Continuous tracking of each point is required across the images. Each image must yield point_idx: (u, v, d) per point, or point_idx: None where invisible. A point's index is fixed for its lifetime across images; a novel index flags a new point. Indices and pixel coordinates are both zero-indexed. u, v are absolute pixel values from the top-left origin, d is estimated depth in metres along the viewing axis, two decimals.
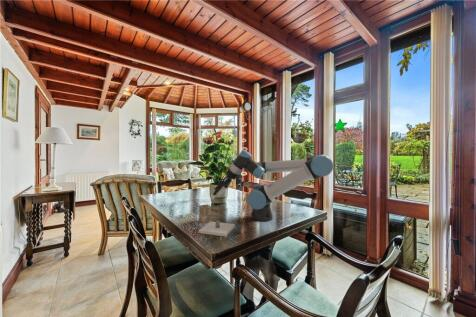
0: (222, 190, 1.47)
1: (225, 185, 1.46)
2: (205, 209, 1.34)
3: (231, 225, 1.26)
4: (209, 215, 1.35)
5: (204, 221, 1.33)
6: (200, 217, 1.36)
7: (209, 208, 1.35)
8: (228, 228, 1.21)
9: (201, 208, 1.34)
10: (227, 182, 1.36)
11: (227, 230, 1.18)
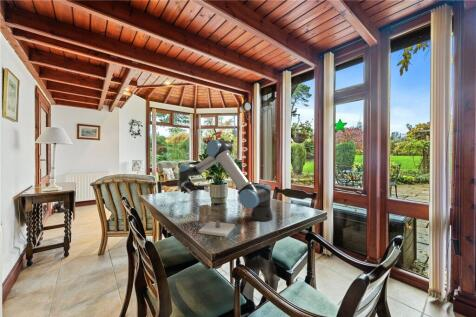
0: (205, 189, 1.51)
1: (202, 188, 1.55)
2: (205, 209, 1.34)
3: (231, 225, 1.26)
4: (209, 215, 1.35)
5: (204, 221, 1.33)
6: (200, 217, 1.36)
7: (209, 208, 1.35)
8: (228, 228, 1.21)
9: (201, 208, 1.34)
10: (187, 186, 1.54)
11: (227, 230, 1.18)
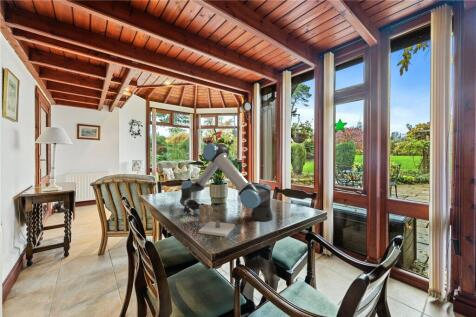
0: None
1: None
2: (205, 209, 1.34)
3: (231, 225, 1.26)
4: (209, 215, 1.35)
5: (204, 221, 1.33)
6: (200, 217, 1.36)
7: (209, 208, 1.35)
8: (228, 228, 1.21)
9: (201, 208, 1.34)
10: (190, 205, 1.49)
11: (227, 230, 1.18)
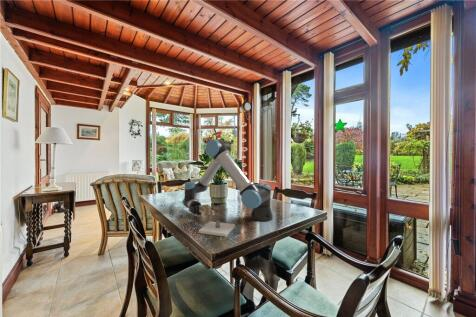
0: None
1: None
2: (205, 209, 1.34)
3: (231, 225, 1.26)
4: (209, 215, 1.35)
5: (204, 221, 1.33)
6: (200, 217, 1.36)
7: (209, 208, 1.35)
8: (228, 228, 1.21)
9: (201, 208, 1.34)
10: (195, 206, 1.44)
11: (227, 230, 1.18)
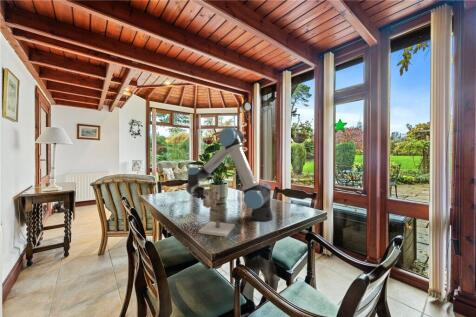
0: None
1: None
2: (210, 193, 1.26)
3: (231, 225, 1.26)
4: (214, 199, 1.27)
5: (209, 205, 1.26)
6: (204, 201, 1.28)
7: (214, 192, 1.27)
8: (228, 228, 1.21)
9: (205, 192, 1.27)
10: (199, 191, 1.36)
11: (227, 230, 1.18)
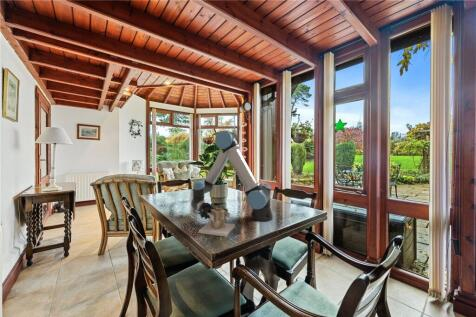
0: (225, 213, 1.25)
1: None
2: (218, 213, 1.19)
3: (231, 225, 1.26)
4: (222, 220, 1.21)
5: (217, 227, 1.19)
6: (212, 222, 1.22)
7: (222, 212, 1.21)
8: (228, 228, 1.21)
9: (213, 212, 1.20)
10: (205, 208, 1.29)
11: (227, 230, 1.18)
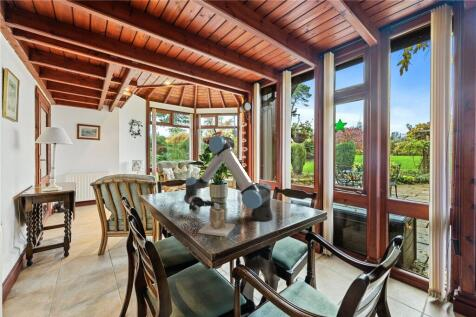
0: (215, 205, 1.39)
1: (212, 204, 1.42)
2: (218, 213, 1.19)
3: (231, 225, 1.26)
4: (222, 220, 1.21)
5: (217, 227, 1.19)
6: (212, 222, 1.22)
7: (222, 212, 1.21)
8: (228, 228, 1.21)
9: (213, 212, 1.20)
10: (196, 202, 1.41)
11: (227, 230, 1.18)
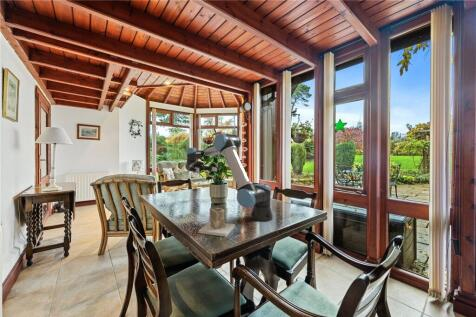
0: (213, 168, 1.57)
1: (210, 168, 1.60)
2: (218, 213, 1.19)
3: (231, 225, 1.26)
4: (222, 220, 1.21)
5: (217, 227, 1.19)
6: (212, 222, 1.22)
7: (222, 212, 1.21)
8: (228, 228, 1.21)
9: (213, 212, 1.20)
10: (196, 166, 1.59)
11: (227, 230, 1.18)
